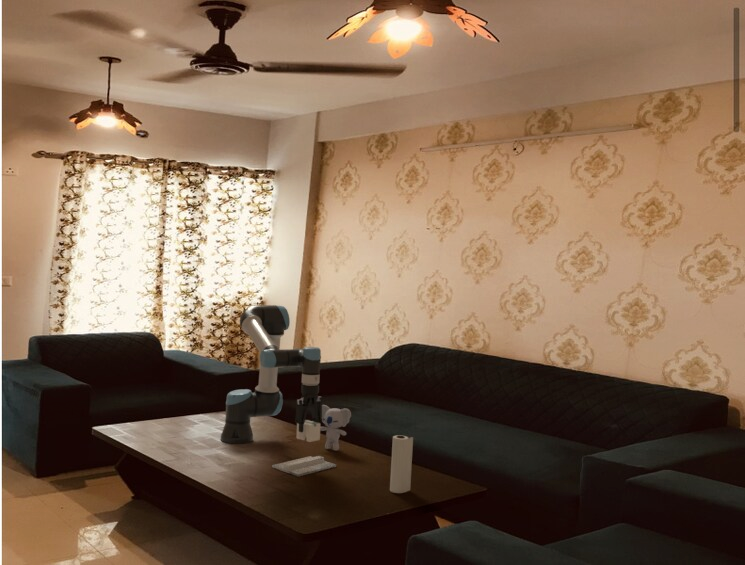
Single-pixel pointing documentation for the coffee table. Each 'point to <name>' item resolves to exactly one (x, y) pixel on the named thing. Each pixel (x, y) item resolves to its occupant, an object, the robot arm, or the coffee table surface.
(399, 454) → the paper towel roll
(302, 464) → the grey flat board
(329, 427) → the toy
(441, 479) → the coffee table surface
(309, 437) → the block
